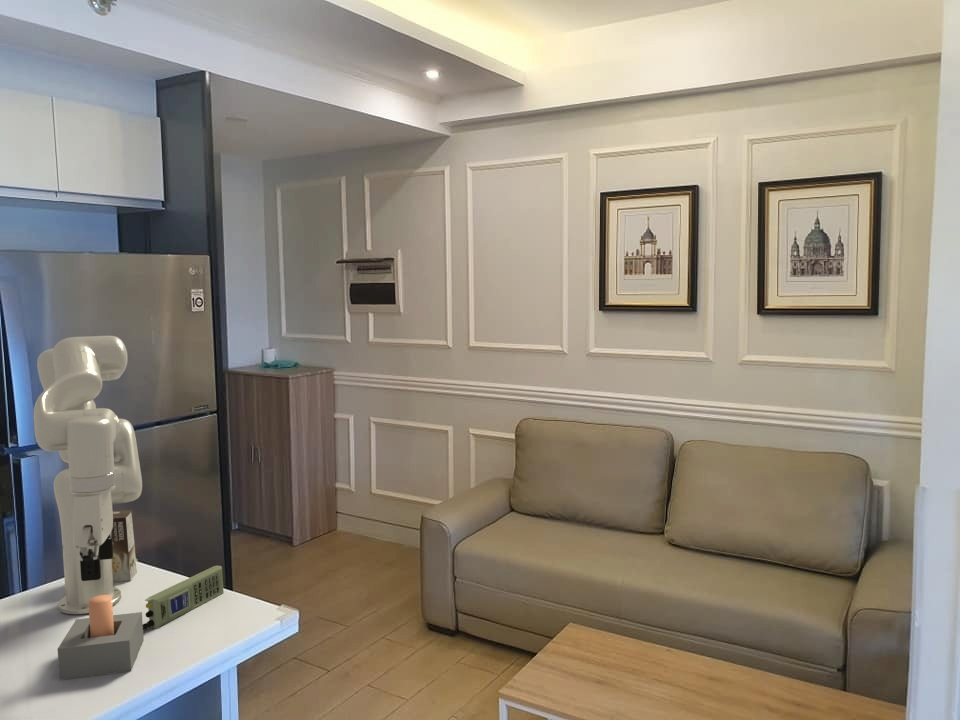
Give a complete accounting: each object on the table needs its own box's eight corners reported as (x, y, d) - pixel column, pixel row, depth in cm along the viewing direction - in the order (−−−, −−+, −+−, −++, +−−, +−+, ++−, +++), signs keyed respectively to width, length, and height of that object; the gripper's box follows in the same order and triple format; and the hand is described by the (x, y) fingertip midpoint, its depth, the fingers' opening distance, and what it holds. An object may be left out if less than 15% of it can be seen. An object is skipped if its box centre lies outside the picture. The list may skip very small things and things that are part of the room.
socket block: (78, 648, 143) (76, 619, 142) (143, 640, 146) (141, 612, 146) (59, 680, 132) (57, 648, 131) (131, 670, 135) (129, 640, 134)
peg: (95, 655, 140) (91, 596, 139) (117, 652, 141) (114, 593, 140) (89, 665, 137) (85, 605, 135) (112, 662, 138) (109, 602, 136)
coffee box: (137, 571, 182) (134, 509, 180) (130, 581, 175) (127, 517, 174) (98, 574, 180) (94, 511, 178) (89, 584, 173) (85, 519, 172)
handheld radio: (226, 594, 169) (135, 642, 146) (215, 592, 170) (124, 639, 147) (224, 566, 168) (133, 610, 145) (213, 564, 169) (121, 608, 147)
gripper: (83, 470, 143) (88, 553, 145) (56, 497, 126) (62, 590, 128) (124, 468, 145) (129, 550, 147) (103, 494, 128) (108, 586, 130)
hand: (98, 569), depth 137 cm, fingers open, 9 cm apart
